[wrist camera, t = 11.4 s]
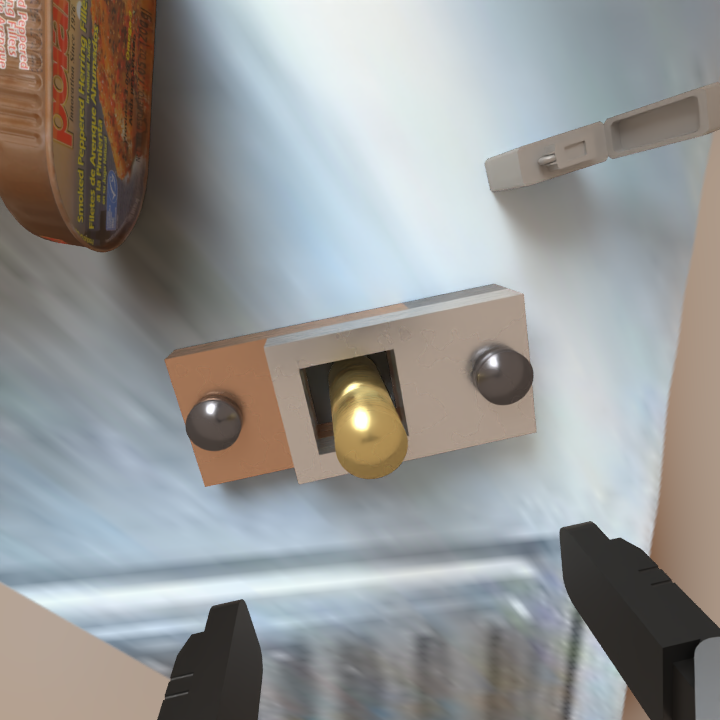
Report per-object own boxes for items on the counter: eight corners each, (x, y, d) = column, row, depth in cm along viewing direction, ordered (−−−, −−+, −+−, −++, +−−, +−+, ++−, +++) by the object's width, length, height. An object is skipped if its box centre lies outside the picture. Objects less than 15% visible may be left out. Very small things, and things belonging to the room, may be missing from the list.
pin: (323, 359, 28) (328, 420, 19) (373, 348, 28) (401, 405, 20) (333, 407, 29) (343, 485, 20) (382, 396, 29) (413, 470, 20)
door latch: (174, 349, 27) (145, 377, 22) (494, 283, 28) (532, 296, 23) (212, 469, 29) (192, 517, 24) (507, 405, 30) (544, 440, 25)
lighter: (490, 192, 26) (564, 180, 19) (483, 160, 26) (556, 133, 18) (614, 152, 26) (738, 124, 19) (609, 119, 26) (735, 76, 18)
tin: (144, 248, 26) (67, 260, 17) (81, 238, 25) (-28, 246, 17) (163, -92, 22) (75, -278, 14) (88, -111, 21) (-48, -315, 13)
